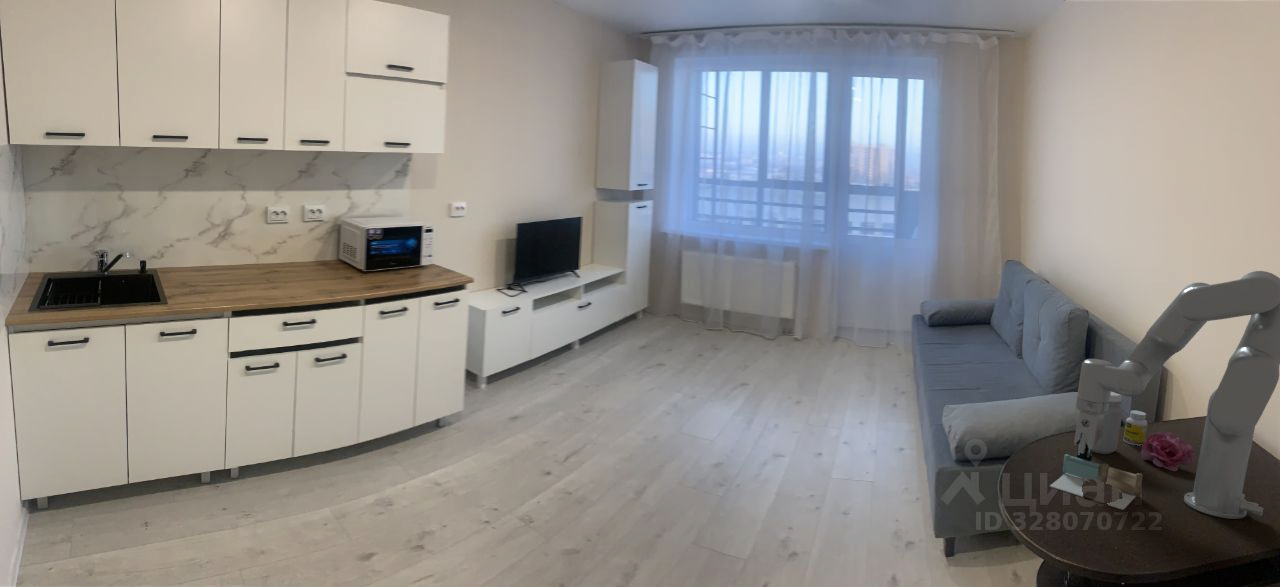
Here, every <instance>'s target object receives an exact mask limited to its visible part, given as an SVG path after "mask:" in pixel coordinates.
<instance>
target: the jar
mask: <svg viewBox="0 0 1280 587" xmlns="http://www.w3.org/2000/svg"><path fill="white" fill-rule="evenodd" d="M1122 399H1123V395H1120V394H1117V393H1114V392H1111V395H1110V401H1109V408H1108V413H1107V414H1105V415H1104V426H1103V435H1102V442H1101V443H1100V444H1099V446H1098V447H1097V448H1096V449H1094V450H1093V451H1092V453H1094V452H1095V454H1101V455H1110V454H1112V453H1114V452H1116V451H1117V449H1118V445H1119V444H1118V443H1119V438H1120V437H1119V436H1120V430H1121V425H1122V424H1121V423H1122V418H1123V408H1122V407H1121V406H1122V402H1121V401H1122Z"/></svg>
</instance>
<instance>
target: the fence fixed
mask: <svg viewBox="0 0 1280 587" xmlns="http://www.w3.org/2000/svg"><path fill="white" fill-rule="evenodd" d="M1100 464H1101V466H1100V472H1099V480H1100V481H1101V482H1104V483H1106V484H1110V485H1112V486H1114V487H1116V488H1118V489H1120V490H1121V491H1123V492H1126V493H1129V494H1133V495H1135V496H1136V497H1135V498H1139V497H1140V493H1141V488H1142V482H1143V473H1141V472H1140V473H1138V472H1136V474H1135V473H1132V472H1130V471H1125V470H1122V469H1119V468H1118V469H1117V468H1114V467H1111V466H1109V464H1107V463H1104V462H1102V463H1100ZM1106 481H1107V482H1106Z"/></svg>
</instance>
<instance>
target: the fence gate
mask: <svg viewBox="0 0 1280 587" xmlns="http://www.w3.org/2000/svg"><path fill="white" fill-rule="evenodd" d="M1101 464H1102V463H1097V462H1093V461H1092V460H1091V461H1087V460H1084V459H1080V458H1077V456H1072V455H1071V454H1067V453H1066V454H1064V457H1063V465H1062V473H1064V474H1065V473H1068V474H1071V475H1075V476H1078V477H1081V478H1093V479H1099V476H1100V470H1101Z"/></svg>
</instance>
